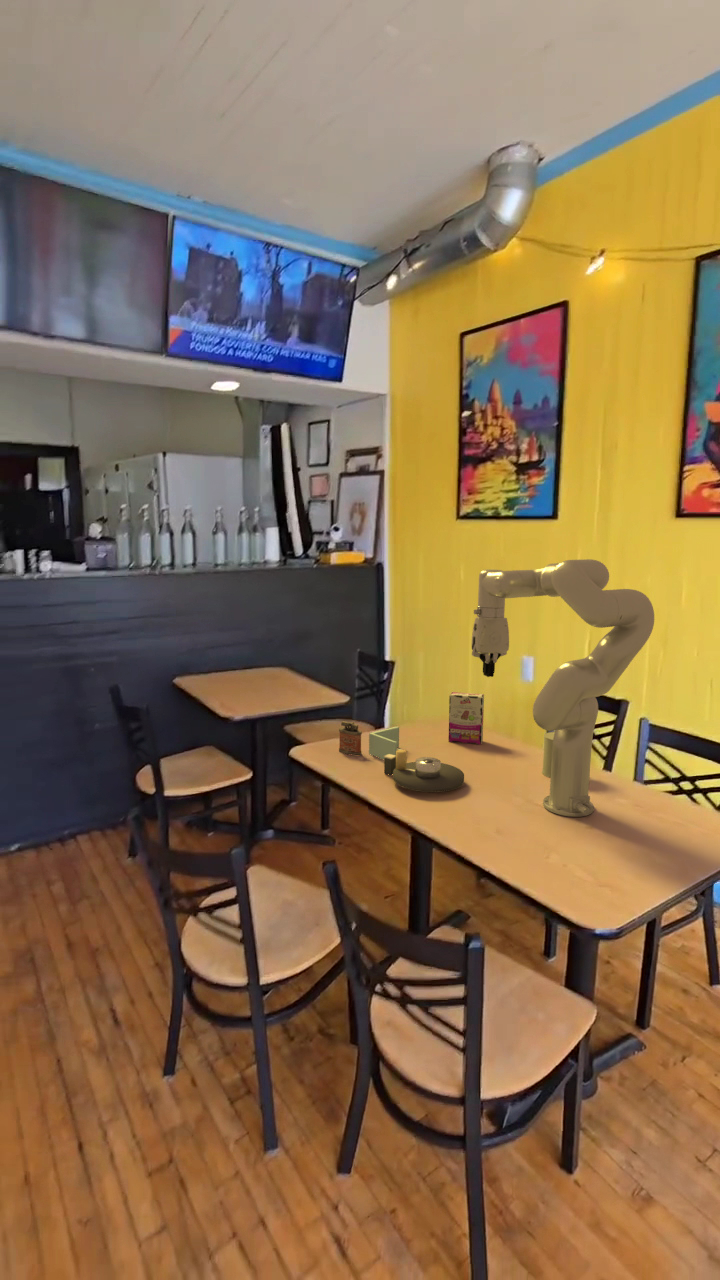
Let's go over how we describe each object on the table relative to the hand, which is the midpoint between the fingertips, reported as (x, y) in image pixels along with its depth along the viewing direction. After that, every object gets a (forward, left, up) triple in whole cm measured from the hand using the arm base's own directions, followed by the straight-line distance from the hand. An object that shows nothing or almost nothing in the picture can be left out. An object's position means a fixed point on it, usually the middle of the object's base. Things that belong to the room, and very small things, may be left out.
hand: (488, 675), depth 198 cm
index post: (+7, +28, -29) cm, 41 cm away
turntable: (-4, +20, -28) cm, 34 cm away
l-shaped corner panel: (+21, +20, -30) cm, 42 cm away
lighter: (+28, +33, -29) cm, 52 cm away
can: (-8, -20, -29) cm, 36 cm away
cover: (-5, +21, -26) cm, 34 cm away
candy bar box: (+28, -8, -29) cm, 41 cm away
